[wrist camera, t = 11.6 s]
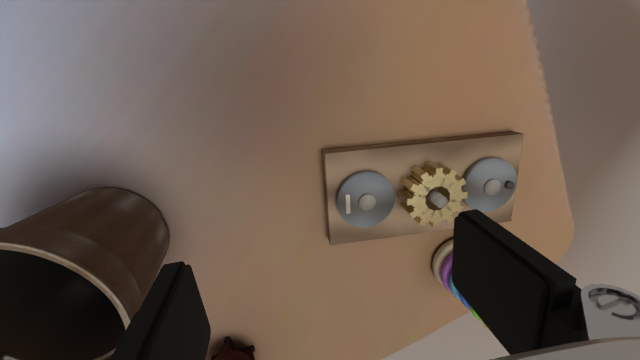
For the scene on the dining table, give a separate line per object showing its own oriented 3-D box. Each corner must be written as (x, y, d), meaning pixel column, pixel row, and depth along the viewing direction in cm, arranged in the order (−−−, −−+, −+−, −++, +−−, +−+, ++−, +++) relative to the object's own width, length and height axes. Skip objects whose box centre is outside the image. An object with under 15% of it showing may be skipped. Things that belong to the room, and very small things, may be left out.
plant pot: (170, 303, 41) (111, 435, 26) (31, 276, 37) (-134, 411, 22) (202, 194, 37) (154, 275, 22) (50, 151, 33) (-134, 213, 18)
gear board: (322, 149, 38) (330, 162, 32) (512, 131, 40) (550, 140, 35) (327, 237, 41) (336, 262, 36) (500, 214, 44) (533, 235, 39)
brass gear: (398, 164, 37) (408, 171, 35) (455, 158, 38) (470, 164, 35) (397, 219, 40) (406, 230, 37) (451, 213, 41) (464, 223, 38)
